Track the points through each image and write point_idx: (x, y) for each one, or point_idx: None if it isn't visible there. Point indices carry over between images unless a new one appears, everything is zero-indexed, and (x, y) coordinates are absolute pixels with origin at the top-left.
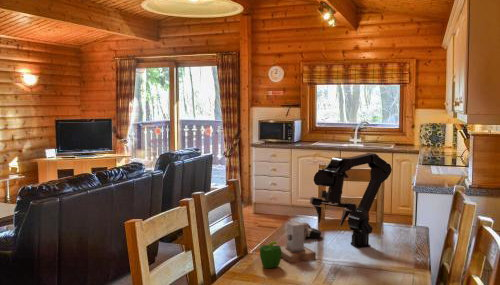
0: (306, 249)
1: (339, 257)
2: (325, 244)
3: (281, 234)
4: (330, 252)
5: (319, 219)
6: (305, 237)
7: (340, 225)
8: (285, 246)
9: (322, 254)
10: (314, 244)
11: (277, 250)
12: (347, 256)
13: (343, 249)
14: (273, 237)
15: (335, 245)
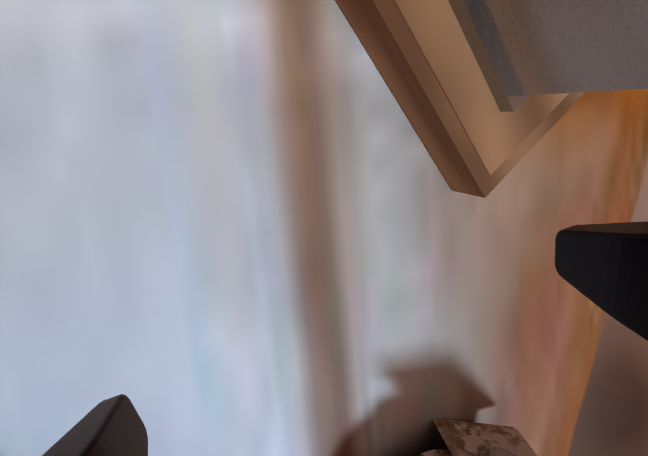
0: (439, 50)
1: (100, 68)
2: (290, 394)
3: (548, 438)
4: (220, 204)
5: (644, 225)
6: (440, 432)
7: (130, 407)
8: (571, 105)
9: (283, 125)
10: (368, 354)
11: None
12: (8, 125)
13: (107, 337)
14: (582, 367)
15: (204, 410)
